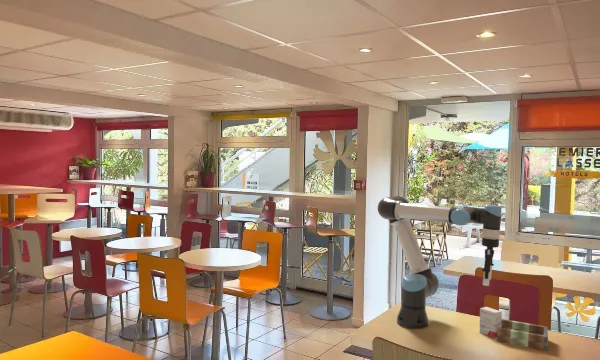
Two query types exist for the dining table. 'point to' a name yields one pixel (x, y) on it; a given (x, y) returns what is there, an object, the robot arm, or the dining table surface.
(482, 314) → the ink box
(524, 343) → the open-top container
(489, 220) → the robot arm
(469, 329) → the dining table surface
